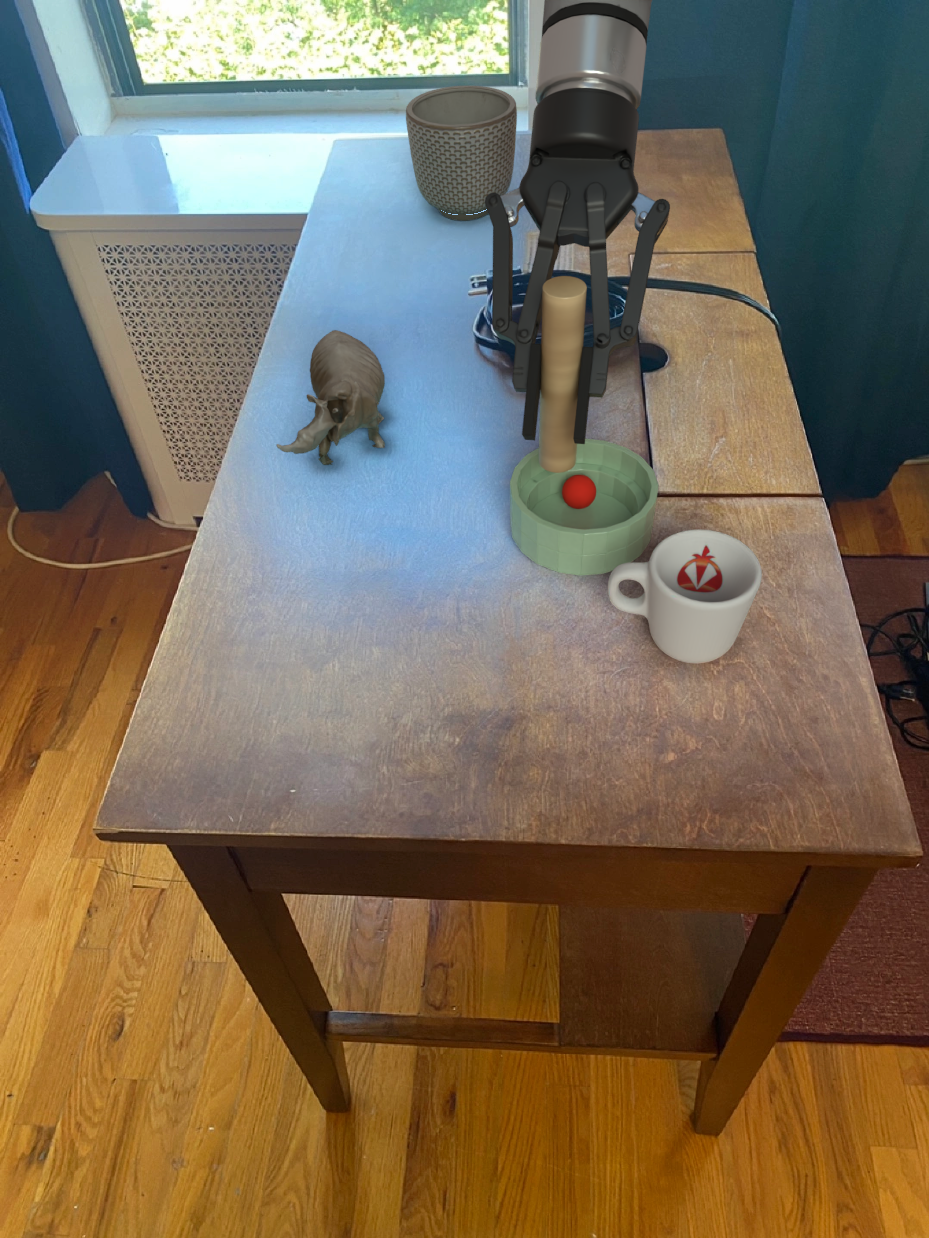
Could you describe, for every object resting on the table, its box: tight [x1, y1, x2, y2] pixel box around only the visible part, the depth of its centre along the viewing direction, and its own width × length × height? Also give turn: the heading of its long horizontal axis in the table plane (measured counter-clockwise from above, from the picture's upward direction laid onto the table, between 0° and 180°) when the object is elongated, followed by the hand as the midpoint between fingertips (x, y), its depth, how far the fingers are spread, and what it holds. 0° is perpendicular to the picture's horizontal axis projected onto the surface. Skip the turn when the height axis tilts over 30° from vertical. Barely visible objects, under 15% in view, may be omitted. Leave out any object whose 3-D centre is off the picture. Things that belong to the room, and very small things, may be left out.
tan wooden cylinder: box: [538, 275, 588, 473], centre depth 68 cm, size 3×3×15 cm
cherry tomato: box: [562, 475, 596, 509], centre depth 81 cm, size 3×3×3 cm
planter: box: [405, 85, 518, 222], centre depth 118 cm, size 14×14×13 cm
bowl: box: [509, 437, 660, 577], centre depth 78 cm, size 12×12×6 cm
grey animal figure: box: [276, 329, 386, 466], centre depth 88 cm, size 8×14×15 cm
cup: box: [607, 528, 763, 664], centre depth 69 cm, size 11×8×8 cm
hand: (553, 438), depth 67 cm, fingers closed on tan wooden cylinder, 3 cm apart
